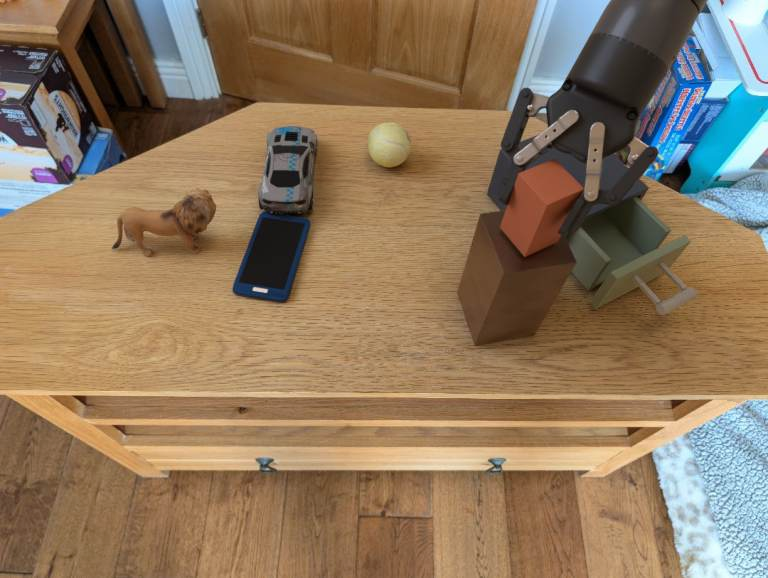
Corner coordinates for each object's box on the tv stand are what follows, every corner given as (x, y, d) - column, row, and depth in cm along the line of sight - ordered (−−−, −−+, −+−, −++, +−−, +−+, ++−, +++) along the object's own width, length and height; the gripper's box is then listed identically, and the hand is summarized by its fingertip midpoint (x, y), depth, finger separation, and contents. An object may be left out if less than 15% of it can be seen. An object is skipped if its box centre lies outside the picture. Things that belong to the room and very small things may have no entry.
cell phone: (231, 294, 72) (230, 291, 71) (261, 213, 79) (260, 209, 79) (287, 304, 71) (286, 300, 71) (312, 221, 79) (311, 217, 78)
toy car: (318, 139, 88) (317, 113, 84) (313, 221, 79) (310, 197, 74) (271, 138, 88) (267, 112, 84) (259, 220, 78) (254, 195, 74)
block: (558, 241, 58) (584, 188, 51) (524, 257, 57) (547, 205, 50) (532, 213, 60) (554, 158, 53) (499, 227, 59) (518, 173, 52)
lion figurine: (223, 220, 78) (210, 175, 71) (226, 250, 76) (212, 206, 68) (113, 236, 76) (87, 191, 68) (112, 267, 73) (85, 224, 66)
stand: (513, 283, 75) (549, 204, 61) (534, 335, 71) (577, 262, 57) (456, 292, 74) (480, 213, 60) (474, 345, 70) (503, 273, 56)
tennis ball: (409, 178, 84) (413, 144, 79) (365, 176, 84) (366, 142, 79) (408, 148, 88) (412, 114, 82) (366, 146, 88) (367, 111, 82)
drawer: (697, 305, 73) (727, 275, 67) (625, 345, 69) (651, 317, 64) (599, 205, 82) (618, 170, 76) (531, 235, 78) (546, 201, 72)
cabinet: (622, 230, 81) (649, 187, 73) (547, 265, 77) (568, 224, 69) (558, 164, 87) (577, 119, 80) (486, 194, 83) (499, 149, 76)
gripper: (553, 5, 48) (458, 181, 53) (716, 71, 44) (598, 257, 49) (561, 33, 55) (477, 187, 60) (702, 93, 51) (601, 254, 55)
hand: (532, 218), depth 54 cm, fingers closed on block, 6 cm apart
